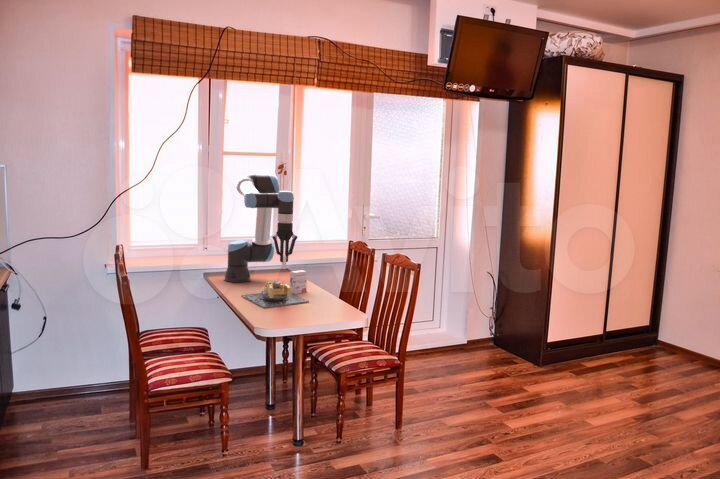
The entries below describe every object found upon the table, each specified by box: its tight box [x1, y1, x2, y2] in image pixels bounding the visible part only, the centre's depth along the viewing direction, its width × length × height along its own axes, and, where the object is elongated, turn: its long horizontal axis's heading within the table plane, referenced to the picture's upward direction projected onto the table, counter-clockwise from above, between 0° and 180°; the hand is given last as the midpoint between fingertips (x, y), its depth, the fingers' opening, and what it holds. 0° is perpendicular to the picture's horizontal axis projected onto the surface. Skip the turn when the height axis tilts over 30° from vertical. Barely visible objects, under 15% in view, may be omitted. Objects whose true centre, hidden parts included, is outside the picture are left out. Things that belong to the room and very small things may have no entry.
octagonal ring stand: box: [263, 281, 290, 298], centre depth 302 cm, size 18×11×5 cm, turn 20°
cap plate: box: [240, 281, 310, 309], centre depth 306 cm, size 26×26×9 cm
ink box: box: [289, 270, 308, 295], centre depth 324 cm, size 9×5×12 cm, turn 134°
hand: (283, 268), depth 296 cm, fingers closed
